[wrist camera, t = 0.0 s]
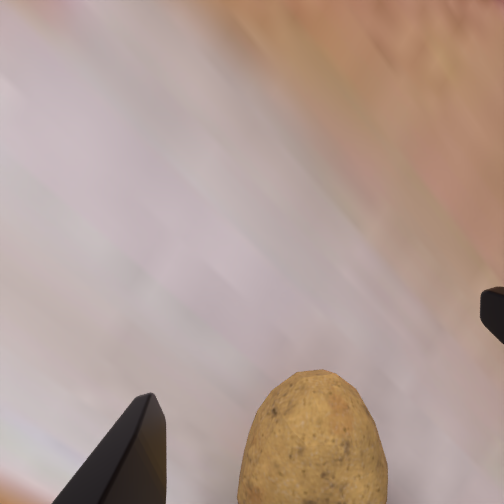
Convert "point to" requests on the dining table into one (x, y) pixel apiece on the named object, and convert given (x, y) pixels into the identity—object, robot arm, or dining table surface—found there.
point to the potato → (313, 446)
